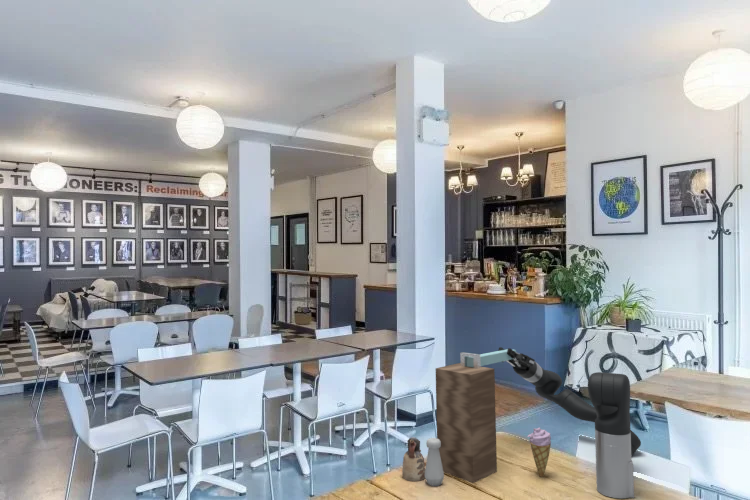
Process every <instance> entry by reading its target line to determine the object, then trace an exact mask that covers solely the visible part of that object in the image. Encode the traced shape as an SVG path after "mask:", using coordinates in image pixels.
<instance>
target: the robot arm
mask: <svg viewBox="0 0 750 500" xmlns="http://www.w3.org/2000/svg"><path fill="white" fill-rule="evenodd" d="M507 349H508V350H507V354H508V355H509V356H510V357H512V358H513V359H512V360H507V361H502V362H501V363H505V362H506V363H508V364H509V365H510V366H512V369H513V371H514V373H515V374H517V376H520V377H521V378H522V379H523V380H525V381H527V382H529V383H530V384H532V385H533V386H534V387H535V392H536V394H537V395H538V396H540V397H541V398H544V399H546V400H548V401H551V402H552V403H555V404H557V405H558V406H560V407H561V408H562V409H563V410H564V411H566V412H567V413H568V414H570V416H572V417H574V418H576V419H578V420H581V421H586V422H590V423H591V422H592V423H594V441H595V443H594V444H595V445H594V446H595V448H594V449H595V470H596V472H595V473H596V476H595V477H596V478H595V479H596V491H597V492H598V493H599V494H601V495H603V496H606V497H609V498H614V499H628V498H631V499H632V498H633V499H634V498H635V483H634V482H635V481H634V463H633V460H632V456H633V455H634V453H636V452H637V450H638V449H639V448H640V447H641V445H642V441H641V439H640V438H639V436H638V435H637V434H636V433H635V432H634V431H633V430H631V383H630V379H629V377H628V376H627V375H626V374H623V373H614V372H601V371H599V372H598V371H597V372H592V373H591V374H590V375H589V378H588V381H587V393H588V396H589V400H590V402H591V404H592V405H591V404H589V402H586V401H585V400H584V399H583V398H581V397H580V396H579V395H577V394H576V393H575V392H573V391H572V390H571V389H569V388H567V389H566V388H565V389H563V390H561V391H560V392H559V393H557V391H558V390H559V389H560V387H561V386H562V384H563V379H562V377H561V376H560V375H559V374H558V373H556V372H555V371H552V370H548V369H544V368H543V367H541V366H540V364H539V363H538V362H536V361H535V359H534V358H533V357H531V356H529V355H527V354H524V353H520V352H518V351H516V352H514V351H513V350H514V349H513V350H512V348H510V347H509V348H507ZM501 350H506V349H505V348H503V347H501V346H500V347H498V350H497V351H501ZM556 393H557V394H556Z"/></svg>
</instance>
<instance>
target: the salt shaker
mask: <svg viewBox="0 0 750 500" xmlns="http://www.w3.org/2000/svg"><path fill="white" fill-rule="evenodd" d="M426 447H427V449H428V450H427V456H426V462H425V463H426V464H425V479H424V480H425V481H426V483H427V485H429V486H431V487H438V486H441V485H442V483H443V481H444V478H445V472H443V467H442V462H441V457H440V452H439V448H440V447H441V441H440V440H439V439H437V437H431V438H427V440H426Z"/></svg>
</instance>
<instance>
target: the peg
mask: <svg viewBox="0 0 750 500" xmlns="http://www.w3.org/2000/svg"><path fill="white" fill-rule="evenodd" d="M511 349H512V348H511ZM507 350H508V348H507V349H505V350H501V351H498V350H497V351H491V352H486V353H482V354H480V353H479V355H480V361H481V367H485V366H488V365H493V364H496V363H503V362H502V361H505V362H506V361H507V360H512V359H513V358H512V357H510V356H509V355H508V354H507ZM512 350H513V351H514V352H517V350H516V349H512ZM466 361H467V366H468V367H474V361H473V357H468V356H467V357H466Z"/></svg>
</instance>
